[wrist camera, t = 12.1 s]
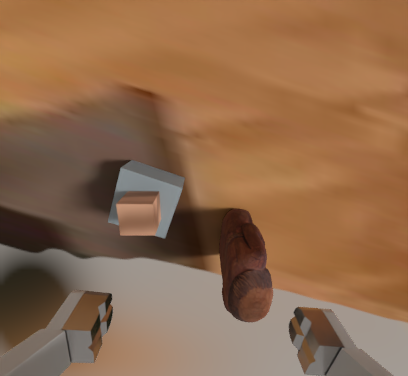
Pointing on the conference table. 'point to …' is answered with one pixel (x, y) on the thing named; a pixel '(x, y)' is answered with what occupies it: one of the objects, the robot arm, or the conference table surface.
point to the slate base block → (149, 181)
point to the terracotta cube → (139, 213)
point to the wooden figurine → (244, 268)
